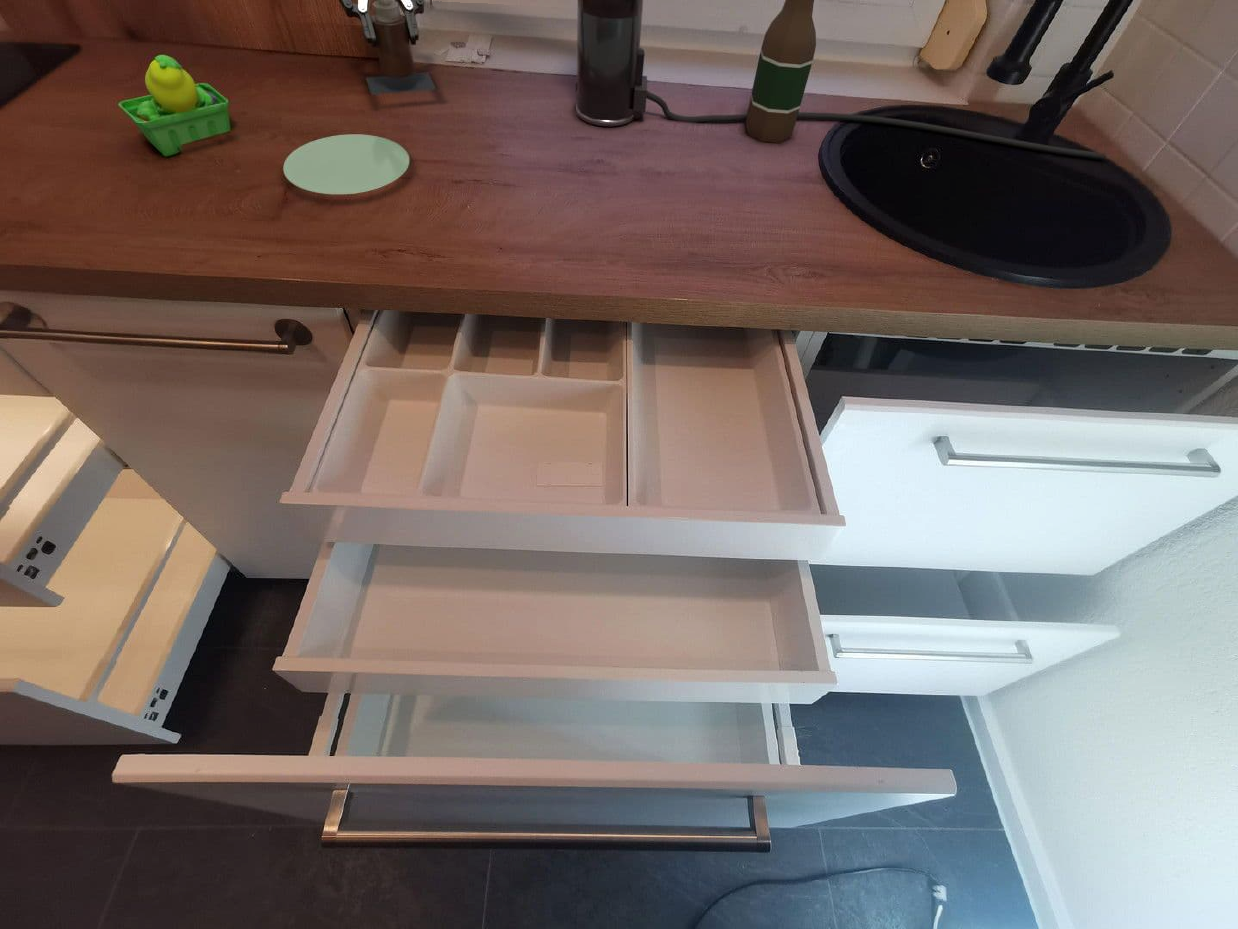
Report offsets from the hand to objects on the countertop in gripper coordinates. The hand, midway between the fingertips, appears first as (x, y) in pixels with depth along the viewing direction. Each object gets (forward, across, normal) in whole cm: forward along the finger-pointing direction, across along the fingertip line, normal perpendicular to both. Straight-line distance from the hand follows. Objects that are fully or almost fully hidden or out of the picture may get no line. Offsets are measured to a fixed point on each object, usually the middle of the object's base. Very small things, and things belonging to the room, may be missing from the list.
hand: (394, 42), depth 92 cm
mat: (+4, 0, +6) cm, 8 cm away
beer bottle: (+23, +52, -13) cm, 58 cm away
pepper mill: (+2, 0, +4) cm, 5 cm away
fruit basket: (+11, -30, 0) cm, 32 cm away
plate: (+20, -11, -10) cm, 25 cm away
